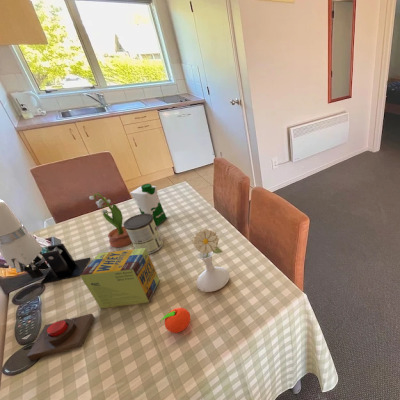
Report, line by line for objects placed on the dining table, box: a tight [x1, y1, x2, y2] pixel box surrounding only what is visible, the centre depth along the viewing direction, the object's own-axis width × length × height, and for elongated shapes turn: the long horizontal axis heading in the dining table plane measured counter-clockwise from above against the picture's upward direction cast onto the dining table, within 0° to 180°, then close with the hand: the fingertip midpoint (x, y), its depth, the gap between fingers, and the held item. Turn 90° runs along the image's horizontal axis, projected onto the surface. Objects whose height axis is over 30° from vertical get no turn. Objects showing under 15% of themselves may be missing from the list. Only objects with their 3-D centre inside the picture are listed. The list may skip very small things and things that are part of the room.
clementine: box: [159, 307, 191, 334], centre depth 80 cm, size 8×7×7 cm
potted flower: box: [89, 191, 133, 248], centre depth 112 cm, size 12×10×25 cm
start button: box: [47, 320, 68, 337], centre depth 77 cm, size 4×4×2 cm
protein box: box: [79, 248, 161, 309], centre depth 89 cm, size 10×15×16 cm
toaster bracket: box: [40, 243, 91, 285], centre depth 99 cm, size 12×10×12 cm
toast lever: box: [27, 247, 63, 269], centre depth 97 cm, size 12×3×3 cm, turn 109°
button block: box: [26, 313, 96, 361], centre depth 78 cm, size 12×10×4 cm
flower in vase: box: [192, 228, 231, 293], centre depth 91 cm, size 13×11×25 cm
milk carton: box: [129, 183, 168, 227], centre depth 127 cm, size 9×9×20 cm
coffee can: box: [122, 213, 164, 255], centre depth 111 cm, size 10×10×14 cm
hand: (40, 272), depth 99 cm, fingers closed on toast lever, 3 cm apart
